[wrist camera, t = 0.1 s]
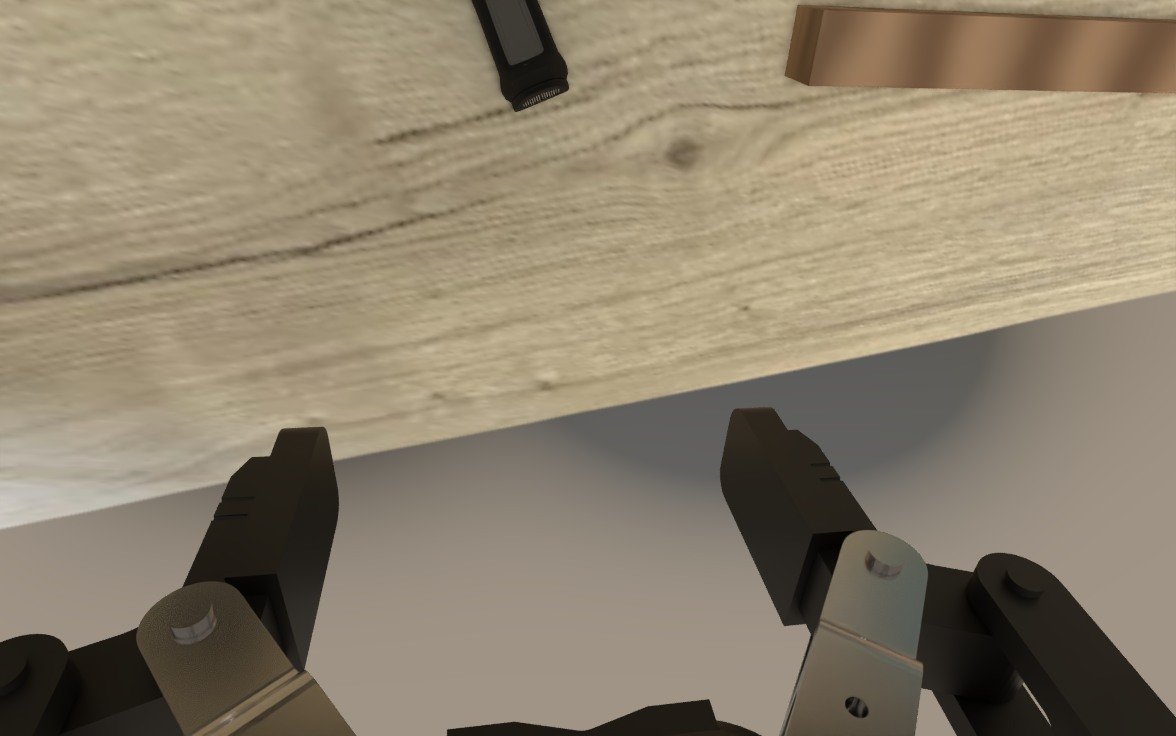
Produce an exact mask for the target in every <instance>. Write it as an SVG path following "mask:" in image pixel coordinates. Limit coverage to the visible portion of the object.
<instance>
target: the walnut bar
mask: <svg viewBox="0 0 1176 736" xmlns="http://www.w3.org/2000/svg"><path fill="white" fill-rule="evenodd" d="M785 76H787V77H789V78H791V79H794V80H796V81H799V82H801V83H803V84H806V85H808V86H842V87H891V88H940V89H989V90H1038V91H1088V92H1137V93H1176V20H1164V19H1139V18H1113V17H1088V16H1062V15H1037V14H1011V13H986V12H960V11H935V10H909V9H884V8H858V7H833V6H807V5H798V6H797V12H796V17H795V23H794V28H793V34H792V39H791V45H790V50H789V56H788V61H787V67H786V72H785Z"/></svg>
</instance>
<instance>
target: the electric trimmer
mask: <svg viewBox="0 0 1176 736" xmlns="http://www.w3.org/2000/svg"><path fill="white" fill-rule="evenodd" d="M472 2H473V5H474V7H475V10H476V12H477V15H478V18H479V20H480V23H481V26H482V28H483V31H484V34H485V37H486V39H487V42H488V45H489V48H490V51H491V53H492V56H493V59H494V62H495V64H496V67H497V70H498V73H499V76H500V87H501V92H502V94H503V96H504V97H505V99H506V100H508V101H509V102H511V104H512V106H513V109H514V111H515V112H518V111H521V110H523V109H526V108H528V107H531V106H533V105H535V104H538V103H540V102H542V101H545V100H547V99H550V98H552V97H554V96H557V95H559V94H562V93H564V92H566V91H568V90H569V85H568V82H567V80H566V78H567V75H568V71H567V66H566V63H565V61H564V59H563V58H562V56H561V55H560V54H559V52H558V50H557V48H556V45H555V43H554V40H553V38H552V35H551V33H550V30H549V28H548V25H547V23H546V20H545V18H544V15H543V13H542V10H541V8H540V5H539V3H538V0H472Z"/></svg>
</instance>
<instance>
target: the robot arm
mask: <svg viewBox="0 0 1176 736" xmlns="http://www.w3.org/2000/svg"><path fill="white" fill-rule="evenodd" d="M720 480H721V487H722V492H723V495H724V497H725V499H726V502H727V504H728V506H729V508H730V510H731V513H732V515H733V517H734V519H735V521H736V523H737V526H738V528H739V530H740V532H741V534H742V536H743V539H744V541H745V543H746V545H747V547H748V549H749V551H750V554H751V556H752V558H753V560H754V562H755V564H756V567H757V569H758V571H759V573H760V575H761V577H762V579H763V582H764V584H765V586H766V588H767V590H768V593H769V595H770V597H771V599H772V601H773V603H774V606H775V608H776V610H777V612H778V614H779V616H780V619H781V621H782V623H783V625H784V626H789V625H799V624H806V625H807V627H808V629H809V631H810V633H811V636H810V639H809V642H808V645H807V648H806V651H805V654H804V658H803V661H802V664H801V667H800V670H799V674H798V677H797V680H796V683H795V686H794V690H793V693H792V696H791V699H790V703H789V706H788V709H787V712H786V716H785V719H784V722H783V725H782V728H781V731H780V734H779V736H915V729H916V723H917V715H918V707H919V700H920V692H921V688H923V689H928V690H932V692H933V694H934V695H935V697H936V699H937V701H938V702H939V704H940V706H941V707H942V710H943V711H944V713H945V715H946V717H947V719H948V721H949V722H950V724H951V726H952V728H953V729H954V731H955V733H956V735H957V736H1176V717H1175V716H1174V715H1173V713H1172V712H1171V711H1170V710H1169V709H1168V708H1167V707H1166V705H1165V704H1164V703H1163V702H1162V701H1161V699H1160V698H1159V697H1158V696H1157V695H1156V693H1155V692H1154V691H1153V690H1152V689H1151V688H1150V686H1149V685H1148V684H1147V683H1146V682H1145V681H1144V680H1143V678H1142V677H1141V676H1140V675H1139V673H1138V672H1137V671H1136V670H1135V669H1134V668H1133V666H1132V665H1131V664H1130V663H1129V662H1128V661H1127V659H1126V658H1125V657H1124V656H1123V655H1122V654H1121V653H1120V651H1119V650H1118V649H1117V648H1116V646H1115V645H1114V644H1113V643H1112V642H1111V641H1110V639H1109V638H1108V637H1107V636H1106V635H1105V634H1104V632H1103V631H1102V630H1101V629H1100V628H1099V627H1098V625H1097V624H1096V623H1095V622H1094V621H1093V619H1092V618H1091V617H1090V616H1089V615H1088V614H1087V613H1086V611H1085V610H1084V609H1083V608H1082V607H1081V605H1080V604H1079V603H1078V602H1077V601H1076V600H1075V598H1074V597H1073V596H1072V595H1071V594H1070V592H1069V591H1068V590H1067V589H1066V588H1065V587H1064V586H1063V584H1062V583H1061V582H1060V581H1059V580H1058V579H1057V578H1056V577H1055V576H1054V575H1052V574H1051V573H1050V572H1049V571H1047V570H1046V569H1045V568H1043V567H1042V566H1040V565H1038V564H1036V563H1034V562H1032V561H1030V560H1028V559H1026V558H1023V557H1020V556H1017V555H1013V554H1007V553H992V554H988V555H986V556H984V557H982V558H981V559H980V561H979V562H978V564H977V566H976V568H975V570H974V572H969V571H963V570H958V569H951V568H946V567H940V566H935V565H930V564H926V563H925V562H924V560H923V559H922V557H921V555H920V554H919V553H918V552H917V551H916V550H915V549H914V548H913V547H912V546H910V545H909V544H908V543H906V542H905V541H903V540H901V539H900V538H898V537H895V536H893V535H891V534H888V533H885V532H880V531H877V530H876V528H875V527H874V525H873V524H872V522H871V521H870V520H869V518H868V517H867V515H866V514H865V512H864V511H863V509H862V508H861V506H860V505H859V504H858V502H857V501H856V499H855V498H854V496H853V495H852V494H851V492H850V491H849V489H848V488H847V486H846V485H845V483H844V482H843V481H840V476H839V475H838V473H837V472H836V471H835V469H834V468H833V466H830V462H829V460H828V459H827V458H826V456H825V455H824V453H823V452H822V451H821V449H820V448H819V446H818V445H817V444H816V443H814V442H813V441H812V440H810V439H809V438H808V437H806V436H805V435H804V434H802V433H801V432H800V431H798V430H787V428H786V427H785V425H784V424H783V422H782V421H781V419H780V417H779V416H778V414H777V413H776V411H775V410H774V409H773V408H771V407H759V408H738V409H734V410H733V412H732V414H731V417H730V422H729V427H728V432H727V437H726V442H725V447H724V452H723V457H722V462H721V467H720ZM338 511H339V496H338V487H337V481H336V476H335V472H334V465H333V460H332V455H331V449H330V444H329V439H328V434H327V431H326V429H325V427H307V428H285V429H281V431H280V432H279V434H278V437H277V439H276V442H275V445H274V447H273V450H272V453H271V455H270V456H266V457H251V458H250V459H249V460H248V461H247V462H246V463H245V464H244V465H243V466H242V467H241V468H240V469H239V470H238V471H237V472H235V473H234V474H233V475H232V476H231V478H230V480H229V482H228V485H227V487H226V489H225V492H224V494H223V496H222V502H221V503H219V505H218V507H217V510H216V512H215V514H214V520H213V521H211V524H210V526H209V528H208V530H207V532H206V535H205V538H204V539H203V542H202V544H201V546H200V548H199V551H198V553H197V555H196V558H195V560H194V562H193V564H192V567H191V569H190V571H189V573H188V576H187V578H186V580H185V582H184V585H183V587H182V588H180V589H178V590H176V591H174V592H172V593H170V594H169V595H167V596H165V597H164V598H162V599H161V600H160V601H159V602H157V603H156V604H155V605H154V606H153V607H152V608H151V609H150V610H149V611H148V612H147V613H146V614H145V616H144V618H143V619H142V621H141V622H140V625H139V627H137V628H135V629H133V630H131V631H129V632H126V633H124V634H121V635H118V636H115V637H112V638H109V639H106V640H102V641H99V642H96V643H93V644H90V645H87V646H84V647H81V648H78V649H75V650H72V651H69V652H68V650H67V648H66V646H65V645H64V643H63V642H62V641H61V640H59V639H58V638H56V637H54V636H50V635H46V634H29V635H23V636H19V637H15V638H12V639H9V640H6V641H3V642H0V736H356V735H355V733H354V732H353V731H352V729H351V728H350V726H349V725H348V724H347V722H346V721H345V720H344V718H343V717H342V716H341V714H340V713H339V712H338V710H337V709H336V708H335V706H334V705H333V703H332V702H331V701H330V699H329V698H328V696H327V695H326V694H325V692H324V691H323V690H322V688H321V687H320V686H319V684H318V683H317V682H316V680H315V679H314V678H313V677H312V676H311V675H310V673H309V672H307V671H306V670H304V668H305V664H306V660H307V655H308V651H309V646H310V642H311V637H312V632H313V628H314V624H315V619H316V615H317V610H318V606H319V601H320V597H321V592H322V588H323V583H324V579H325V574H326V570H327V565H328V561H329V557H330V552H331V547H332V543H333V539H334V534H335V530H336V525H337V520H338ZM1023 682H1024V683H1025V684H1026V686H1027V687H1028V688H1029V690H1030V691H1031V693H1032V694H1033V696H1034V697H1035V699H1036V700H1037V702H1038V703H1039V705H1040V706H1041V707H1042V709H1043V710H1044V712H1045V713H1046V715H1047V717H1048V719H1049V722H1050V724H1051V726H1050V724H1049V723H1048V722H1047V720H1046V718H1045V717H1044V715H1043V714H1042V713H1041V711H1040V710H1039V708H1038V707H1037V705H1036V704H1035V702H1034V701H1033V699H1032V698H1031V697H1030V695H1029V693H1028V692H1027V690H1026V689H1025V688H1024V686H1023V685H1022V684H1023ZM447 736H761V735H759V734H757V733H755V732H753V731H751V730H748V729H746V728H743V727H741V726H738V725H734V724H731V723H727V722H723V721H717V720H716V719H715V716H714V713H713V710H712V706H711V703H710V700H709V699H708V700H699V701H691V702H683V703H675V704H665V705H656V706H648V707H645V708H643V709H640V710H638V711H635V712H633V713H630V714H628V715H625V716H623V717H620V718H618V719H615V720H613V721H610V722H608V723H605V724H603V725H600V726H598V727H595V728H593V729H590V730H586V731H576V730H569V729H563V728H555V727H548V726H541V725H534V724H526V723H520V722H508V723H500V724H491V725H482V726H474V727H465V728H456V729H448V730H447Z"/></svg>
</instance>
